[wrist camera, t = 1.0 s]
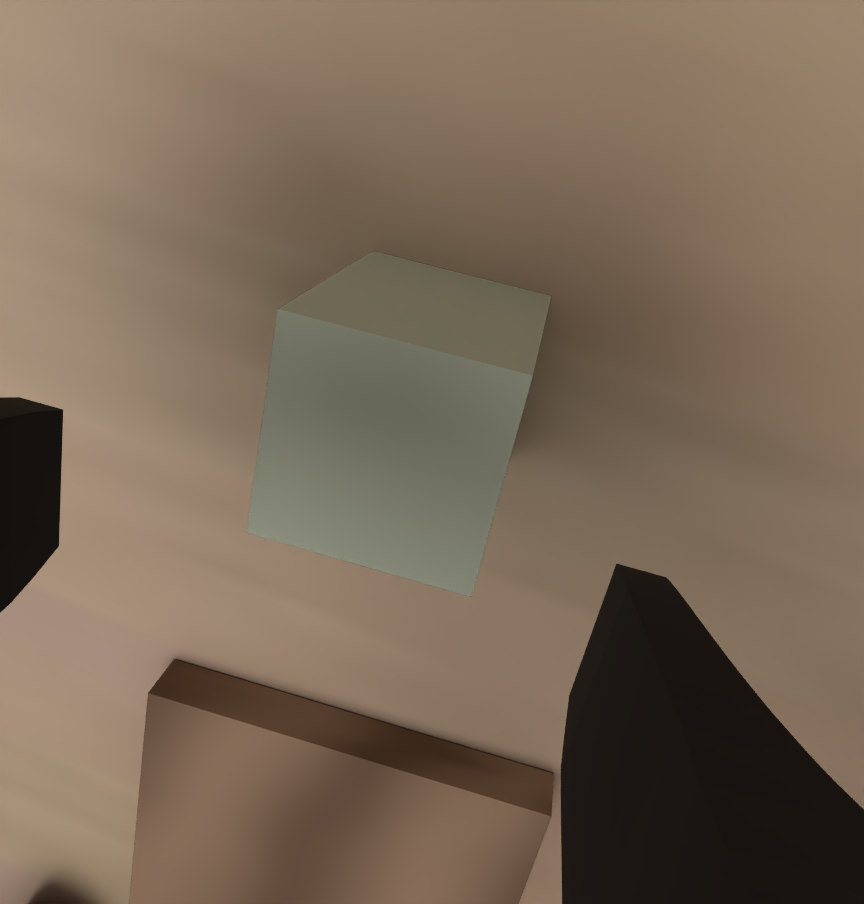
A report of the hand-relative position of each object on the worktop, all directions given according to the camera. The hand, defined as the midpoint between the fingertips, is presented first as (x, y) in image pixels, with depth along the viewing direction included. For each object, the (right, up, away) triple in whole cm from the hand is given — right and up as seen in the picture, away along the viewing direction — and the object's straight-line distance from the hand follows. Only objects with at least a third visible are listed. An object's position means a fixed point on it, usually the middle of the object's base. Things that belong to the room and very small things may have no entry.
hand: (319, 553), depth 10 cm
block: (+2, +3, +8) cm, 9 cm away
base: (-2, -11, +15) cm, 18 cm away
